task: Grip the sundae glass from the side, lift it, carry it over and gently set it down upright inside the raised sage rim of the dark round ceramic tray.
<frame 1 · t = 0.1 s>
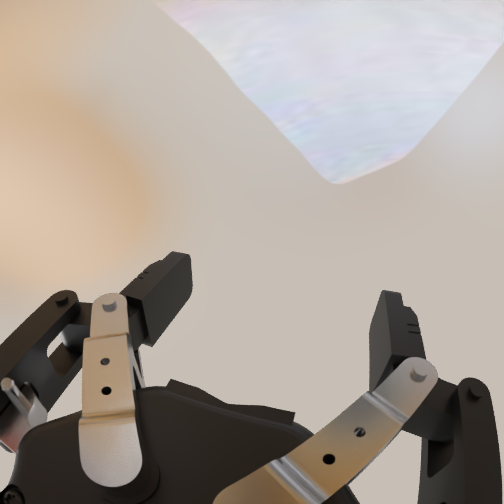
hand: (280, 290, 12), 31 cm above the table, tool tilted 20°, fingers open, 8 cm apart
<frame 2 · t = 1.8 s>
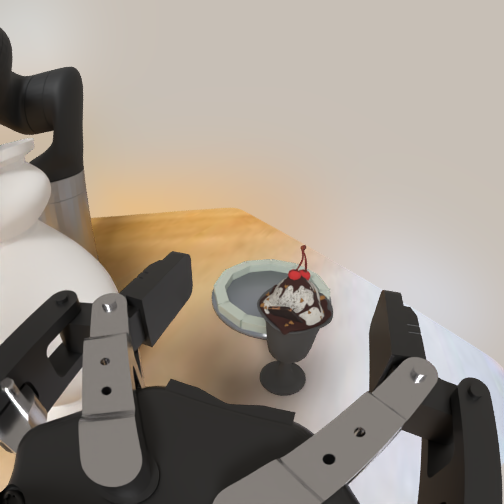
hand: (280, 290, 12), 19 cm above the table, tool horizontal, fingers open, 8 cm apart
tray: (271, 298, 44), on the table
sundae: (282, 378, 31), on the table
decorative vase: (68, 382, 27), on the table
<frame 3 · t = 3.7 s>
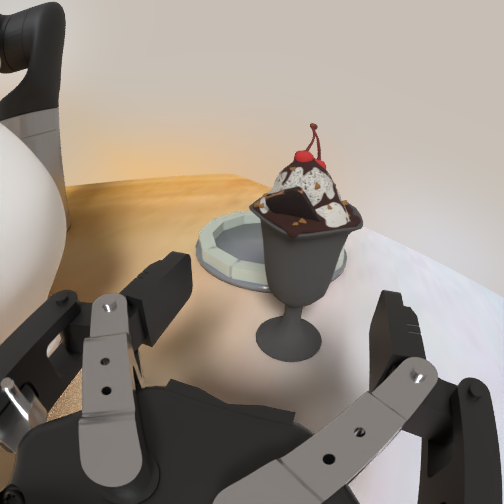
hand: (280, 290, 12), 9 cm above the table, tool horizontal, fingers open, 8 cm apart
tray: (271, 249, 35), on the table
sundae: (288, 339, 22), on the table
decorative vase: (3, 340, 18), on the table
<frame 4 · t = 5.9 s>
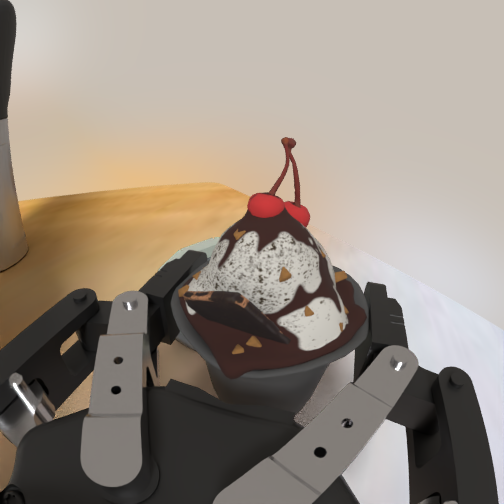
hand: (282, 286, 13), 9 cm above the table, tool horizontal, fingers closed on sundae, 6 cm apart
tray: (249, 291, 28), on the table
sundae: (255, 437, 15), on the table, touching gripper
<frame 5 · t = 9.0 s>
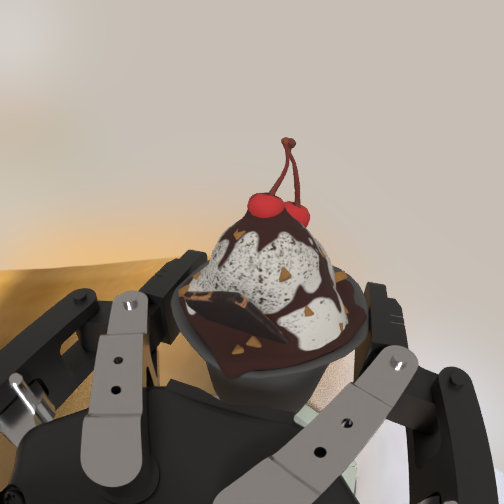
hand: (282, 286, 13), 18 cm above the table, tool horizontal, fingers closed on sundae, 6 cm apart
tray: (250, 478, 19), on the table
sundae: (255, 437, 15), point 8 cm above the table, touching gripper
when the fingers open (10 cm above the table, at t = 12.5 s): sundae stays where it is, resting on tray.
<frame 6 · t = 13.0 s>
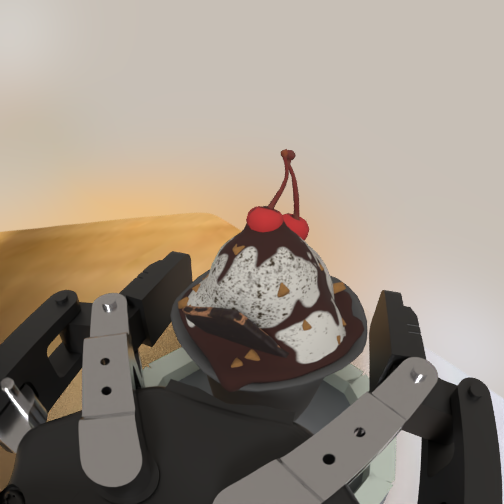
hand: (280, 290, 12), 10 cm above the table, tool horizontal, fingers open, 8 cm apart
tray: (255, 442, 15), on the table
sundae: (254, 442, 15), resting on tray
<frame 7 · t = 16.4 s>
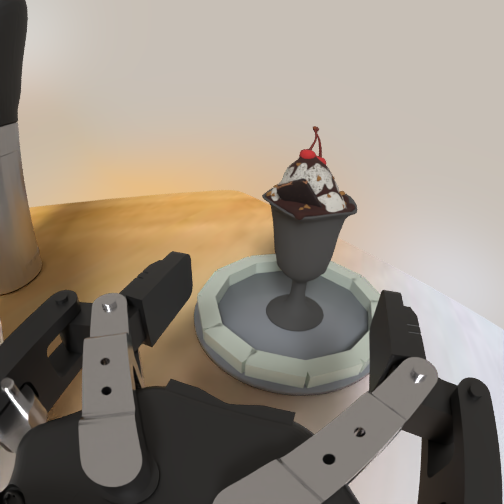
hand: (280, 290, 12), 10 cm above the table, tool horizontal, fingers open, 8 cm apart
tray: (294, 315, 26), on the table
sundae: (294, 313, 26), resting on tray
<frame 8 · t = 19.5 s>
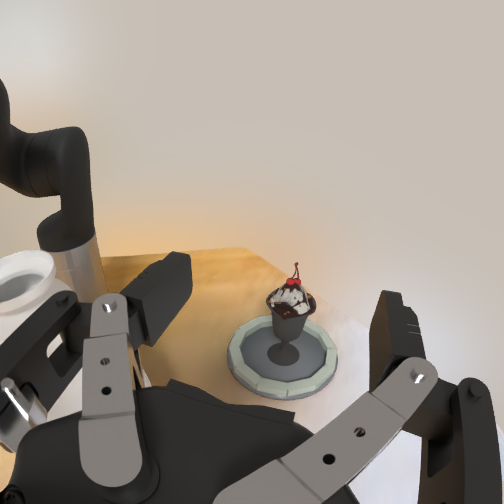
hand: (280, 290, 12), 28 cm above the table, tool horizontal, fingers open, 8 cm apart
tray: (283, 355, 45), on the table
sundae: (283, 354, 45), resting on tray
decorative vase: (102, 443, 29), on the table
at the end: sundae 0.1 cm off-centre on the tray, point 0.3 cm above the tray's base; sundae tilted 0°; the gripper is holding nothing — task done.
